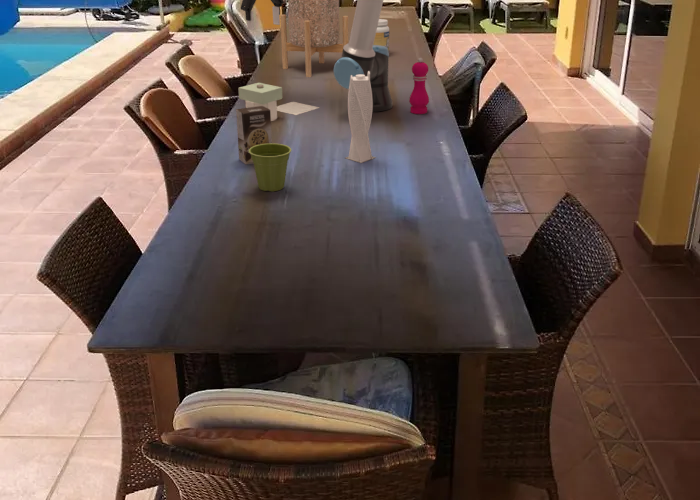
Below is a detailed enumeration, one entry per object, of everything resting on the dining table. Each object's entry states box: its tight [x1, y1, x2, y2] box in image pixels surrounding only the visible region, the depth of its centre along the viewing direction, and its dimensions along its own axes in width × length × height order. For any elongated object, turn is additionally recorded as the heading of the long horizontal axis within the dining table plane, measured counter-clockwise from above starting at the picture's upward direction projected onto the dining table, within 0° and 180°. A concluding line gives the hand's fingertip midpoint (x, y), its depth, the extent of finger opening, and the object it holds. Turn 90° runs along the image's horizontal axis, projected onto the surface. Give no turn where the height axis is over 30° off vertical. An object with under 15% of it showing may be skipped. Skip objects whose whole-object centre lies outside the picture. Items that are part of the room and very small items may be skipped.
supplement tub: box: [373, 18, 390, 56], centre depth 380 cm, size 12×12×17 cm
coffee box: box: [235, 106, 273, 165], centre depth 242 cm, size 9×6×16 cm
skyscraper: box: [344, 71, 377, 164], centre depth 239 cm, size 8×8×28 cm
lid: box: [238, 82, 283, 104], centre depth 282 cm, size 12×10×5 cm
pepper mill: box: [408, 57, 430, 115], centre depth 289 cm, size 7×7×20 cm
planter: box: [279, 0, 349, 78], centre depth 352 cm, size 22×23×32 cm
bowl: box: [244, 100, 278, 122], centre depth 284 cm, size 11×11×8 cm
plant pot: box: [249, 142, 292, 192], centre depth 221 cm, size 12×12×11 cm
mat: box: [277, 101, 320, 116], centre depth 298 cm, size 14×13×1 cm
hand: (263, 27), depth 294 cm, fingers open, 13 cm apart
